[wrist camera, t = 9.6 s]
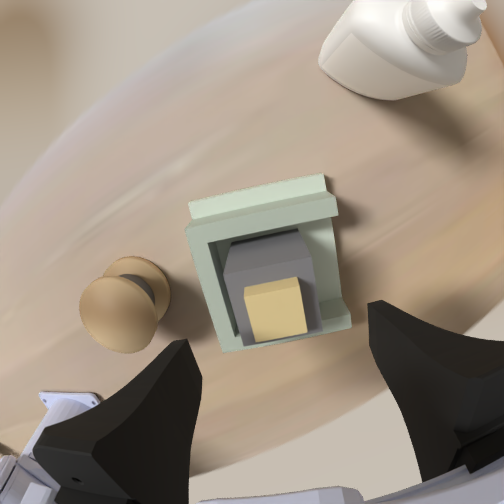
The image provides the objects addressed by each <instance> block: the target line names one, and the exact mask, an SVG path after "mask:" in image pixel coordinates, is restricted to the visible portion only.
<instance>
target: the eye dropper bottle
mask: <svg viewBox="0 0 504 504" xmlns="http://www.w3.org/2000/svg"><path fill="white" fill-rule="evenodd" d="M486 7H487V4H486V1H485V0H353V2H352V3H351V4H350V5H349V7H348V8H347V9H346V11H345V12H344V13H343V15H342V16H341V18H340V19H339V20H338V22H337V23H336V25H335V26H334V28H333V29H332V31H331V32H330V33H329V35H328V36H327V38H326V39H325V41H324V43H323V46H322V49H321V52H320V55H319V58H318V65H319V66H320V68H321V69H322V70H323V71H324V72H325V73H326V74H327V75H328V76H329V77H331V78H332V79H333V80H335V81H336V82H337V83H339V84H341V85H342V86H344V87H346V88H347V89H349V90H351V91H354V92H356V93H358V94H361V95H364V96H367V97H371V98H375V99H381V100H399V99H402V98H406V97H410V96H414V95H417V94H421V93H425V92H429V91H433V90H437V89H441V88H444V87H448V86H452V85H455V84H457V83H459V82H460V81H461V80H462V78H463V76H464V73H465V70H466V65H467V56H468V55H467V49H466V46H469V45H472V44H474V43H476V42H477V41H478V40H479V38H480V36H481V31H482V26H481V20H480V17H479V15H480V14H481V13H482V12H483V11H484V10H485V9H486Z"/></svg>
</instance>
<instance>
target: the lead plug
mask: <svg viewBox="0 0 504 504" xmlns="http://www.w3.org/2000/svg"><path fill="white" fill-rule="evenodd" d="M223 276H224V280H225V284H226V287H227V291H228V294H229V298H230V301H231V305H232V308H233V312H234V315H235V319H236V322H237V325H238V329H239V332H240V336H241V339H242V342H243V346H250V345H256V344H262V343H267V342H273V341H278V340H283V339H288V338H293V337H298V336H303V335H308V334H312V333H317V332H322V331H323V328H322V321H321V314H320V308H319V301H318V294H317V288H316V282H315V275H314V269H313V263H312V257H311V255H310V253H309V250H308V248H307V246H306V244H305V242H304V240H303V238H302V236H301V234H300V232H299V230H298V228H296V229H291V230H286V231H282V232H277V233H272V234H267V235H263V236H258V237H253V238H249V239H244V240H239V241H234V242H231V245H230V249H229V253H228V257H227V261H226V265H225V269H224V273H223Z"/></svg>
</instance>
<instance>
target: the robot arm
mask: <svg viewBox="0 0 504 504" xmlns="http://www.w3.org/2000/svg"><path fill="white" fill-rule="evenodd" d="M367 306H368V324H369V346H370V348H371V351H372V354H373V357H374V359H375V362H376V364H377V366H378V368H379V370H380V372H381V374H382V376H383V378H384V379H385V381H386V383H387V385H388V387H389V389H390V391H391V392H392V394H393V396H394V398H395V400H396V402H397V404H398V406H399V408H400V410H401V413H402V415H403V418H404V421H405V423H406V426H407V429H408V432H409V435H410V438H411V442H412V445H413V448H414V451H415V455H416V459H417V462H418V466H419V470H420V474H421V478H422V483H420V484H418V485H415V486H412V487H409V488H406V489H403V490H401V491H398V492H395V493H391V494H388V495H385V496H382V497H378V498H375V499H371V500H368V501H364V500H363V496H362V495H361V494H360V492H359V491H358V490H356V489H353V488H347V487H341V486H334V487H323V488H315V489H309V490H303V491H297V492H290V493H283V494H274V495H264V496H254V497H239V498H218V499H211V500H203V501H200V502H198V503H196V504H504V341H495V340H485V339H479V338H474V337H469V336H464V335H460V334H457V333H453V332H450V331H447V330H444V329H441V328H439V327H436V326H434V325H431V324H429V323H427V322H424V321H422V320H420V319H418V318H416V317H414V316H412V315H410V314H408V313H406V312H404V311H402V310H400V309H398V308H397V307H395V306H393V305H391V304H389V303H387V302H385V301H383V300H379V301H375V302H372V303H368V304H367ZM201 394H202V375H201V372H200V370H199V367H198V365H197V362H196V360H195V357H194V355H193V352H192V350H191V347H190V345H189V342H188V339H183V340H176V341H173V342H171V343H170V344H169V345H168V346H167V347H166V348H165V349H164V350H163V351H162V352H161V353H160V354H159V355H158V356H157V357H156V358H155V359H154V360H153V361H152V362H151V363H150V364H149V365H148V366H147V367H146V368H145V369H144V370H143V371H142V372H140V373H139V374H138V375H137V376H136V377H135V378H134V379H133V380H132V381H130V382H129V383H128V384H127V385H126V386H124V387H123V388H122V389H121V390H119V391H118V392H116V393H115V394H114V395H112V396H111V397H109V398H108V399H106V400H105V401H103V402H101V403H100V401H99V400H98V398H97V396H96V395H95V394H93V393H62V392H40V393H39V397H40V398H41V400H42V401H43V403H44V404H45V406H46V407H47V408H48V412H47V413H46V415H45V416H44V418H43V419H42V421H41V423H40V424H39V426H38V427H37V429H36V430H35V432H34V434H33V435H32V437H31V439H30V440H29V442H28V443H27V445H26V447H25V448H24V450H23V452H22V453H21V455H20V456H19V457H18V458H17V459H16V458H15V457H14V456H13V455H9V456H8V455H4V456H3V457H2V458H1V460H0V504H189V493H188V492H189V489H188V487H189V464H190V451H191V444H192V438H193V434H194V429H195V425H196V420H197V416H198V411H199V406H200V401H201Z"/></svg>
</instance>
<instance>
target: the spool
mask: <svg viewBox="0 0 504 504" xmlns="http://www.w3.org/2000/svg"><path fill="white" fill-rule="evenodd" d="M170 299H171V292H170V287H169V283H168V281H167V279H166V277H165V275H164V274H163V273H162V271H161V270H160V269H159V268H158V267H157V266H156V265H154V264H153V263H151V262H150V261H148V260H146V259H143V258H140V257H134V256H130V257H124V258H121V259H119V260H117V261H115V262H114V263H113V264H112V265H111V266H110V267H109V268H108V269H107V270H106V271H105V273H104V275H103V277H100V278H98V279H96V280H95V281H93V282H92V283H91V284H90V285H89V286H88V287H87V288H86V289H85V290H84V292H83V293H82V296H81V298H80V304H79V310H80V316H81V319H82V322H83V324H84V326H85V328H86V329H87V331H88V332H89V334H90V335H91V336H92V337H93V338H94V339H95V340H96V341H97V342H98V343H100V344H101V345H102V346H104V347H106V348H108V349H110V350H112V351H115V352H119V353H135V352H138V351H141V350H143V349H144V348H145V347H147V346H148V345H149V343H150V342H151V340H152V338H153V336H154V334H155V332H156V329H157V324H158V321H159V320H160V319H161V318H162V317H163V316H164V314H165V312H166V310H167V308H168V306H169V304H170Z"/></svg>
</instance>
